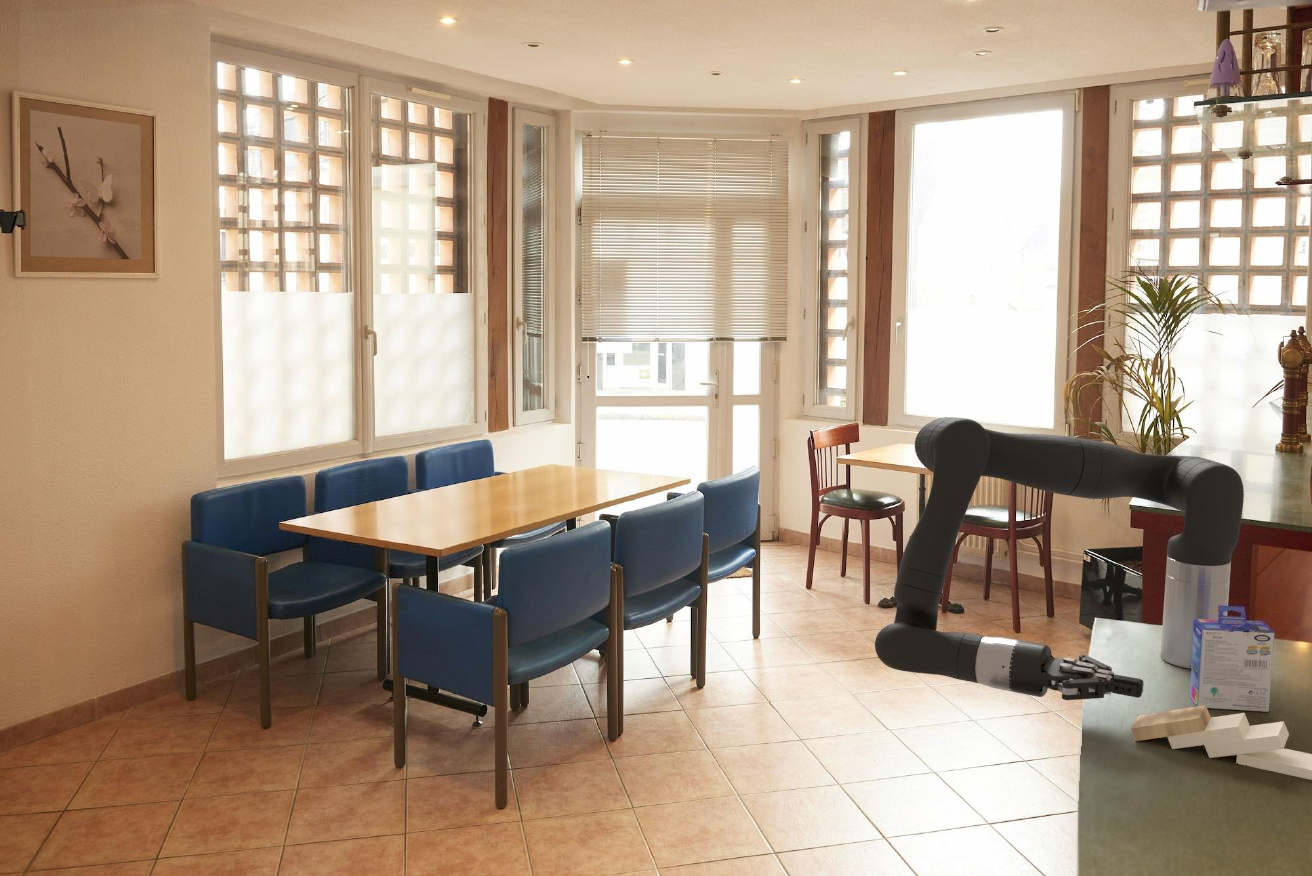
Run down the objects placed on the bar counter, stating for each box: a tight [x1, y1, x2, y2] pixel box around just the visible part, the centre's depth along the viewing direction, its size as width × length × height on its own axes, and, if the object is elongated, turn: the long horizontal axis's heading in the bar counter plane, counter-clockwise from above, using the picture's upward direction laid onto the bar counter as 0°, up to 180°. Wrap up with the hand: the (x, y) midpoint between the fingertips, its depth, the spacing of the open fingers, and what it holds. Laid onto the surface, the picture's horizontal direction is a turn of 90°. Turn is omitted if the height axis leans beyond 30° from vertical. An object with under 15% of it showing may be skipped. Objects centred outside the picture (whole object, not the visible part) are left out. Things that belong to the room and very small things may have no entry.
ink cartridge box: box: [1189, 605, 1276, 713], centre depth 157 cm, size 10×6×14 cm, turn 78°
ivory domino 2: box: [1203, 720, 1290, 759], centre depth 140 cm, size 5×2×9 cm
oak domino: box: [1130, 705, 1212, 742], centre depth 145 cm, size 5×2×9 cm
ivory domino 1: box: [1167, 712, 1251, 750], centre depth 143 cm, size 5×2×9 cm
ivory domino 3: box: [1235, 747, 1312, 781], centre depth 139 cm, size 5×2×9 cm
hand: (1142, 688), depth 147 cm, fingers closed
